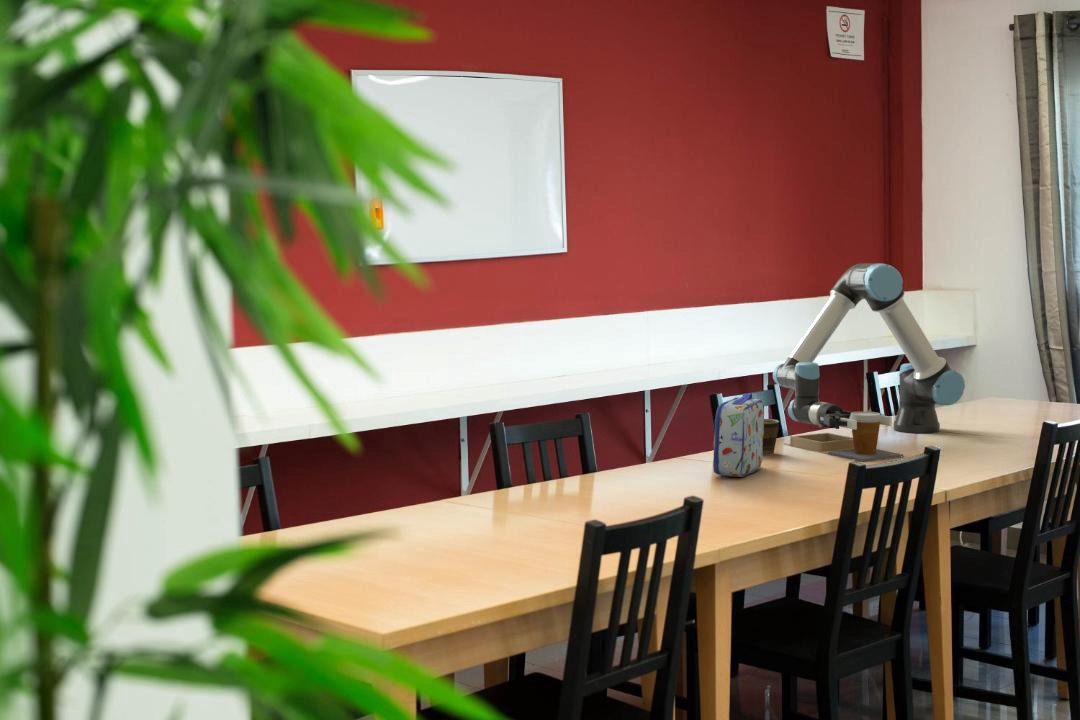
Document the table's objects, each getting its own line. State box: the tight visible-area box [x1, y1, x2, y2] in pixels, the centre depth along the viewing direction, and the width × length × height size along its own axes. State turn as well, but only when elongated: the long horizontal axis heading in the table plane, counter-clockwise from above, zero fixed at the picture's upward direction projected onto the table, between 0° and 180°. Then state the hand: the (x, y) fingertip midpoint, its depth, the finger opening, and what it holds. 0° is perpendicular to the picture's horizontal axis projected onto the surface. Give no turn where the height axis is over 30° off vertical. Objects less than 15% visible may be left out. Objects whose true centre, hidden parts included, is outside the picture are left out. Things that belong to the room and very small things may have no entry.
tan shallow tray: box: [783, 432, 854, 455], centre depth 407 cm, size 15×21×3 cm
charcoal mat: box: [827, 448, 904, 463], centre depth 390 cm, size 16×15×1 cm
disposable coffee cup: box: [849, 411, 882, 455], centre depth 390 cm, size 10×10×12 cm
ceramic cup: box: [762, 418, 780, 456], centre depth 395 cm, size 13×10×10 cm
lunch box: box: [712, 392, 765, 478], centre depth 364 cm, size 28×10×22 cm, turn 158°
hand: (873, 423), depth 387 cm, fingers open, 13 cm apart
